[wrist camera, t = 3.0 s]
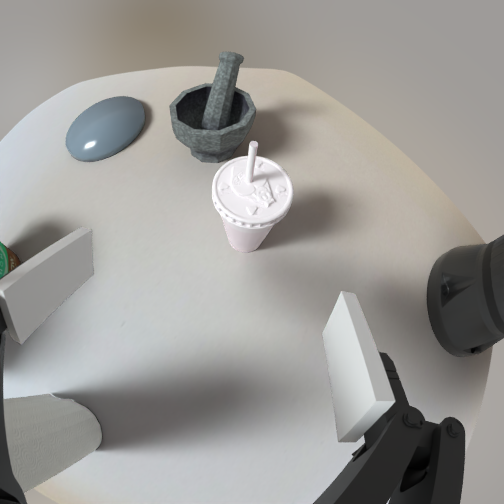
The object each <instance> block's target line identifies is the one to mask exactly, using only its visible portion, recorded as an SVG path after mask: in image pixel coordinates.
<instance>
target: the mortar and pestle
mask: <svg viewBox="0 0 504 504" xmlns="http://www.w3.org/2000/svg"><path fill="white" fill-rule="evenodd" d="M219 59H220V63H219V66H218V69H217V72H216V75H215V79H214V82H213V84H206V83H205V84H202V85H199V86H196V87H193V88H191V89H188V90H185V91H183V92H182V93H181V94H180V95H179V96H178V97H177V98H176V99H175V100H174V101H173V102H172V104H171V105H170V114H171V122H172V127H173V131H174V134H175V136H176V138H177V139H178V140H179V141H180V142H182V143H183V144H184V145H186V146H187V147H189V148H190V149H191V154H192V155H193V156H194V157H196V158H197V159H199V160H200V161H201V162H210V163H219V162H221V161H223V160H225V159H228V158H230V157H231V156H232V155H233V153H234V151H235V149H236V148H237V146H238V145H239V144H241V143H242V142H243V140H244V138H245V137H246V135H247V133H248V132H249V130H250V128H251V126H252V124H253V121H254V118H255V113H256V108H255V106H254V104H253V101H252V99H251V97H250V95H249V94H248V93H246V92H244V91H242V90H240V89H238V88H236V87H235V86H236V81H237V76H238V71H239V66H240V64H241V63H242V62H243V59H244V57H243V56H242V55H240V54H237V53H233V52H221V53H220V55H219Z"/></svg>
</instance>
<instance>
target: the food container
mask: <svg viewBox="0 0 504 504" xmlns="http://www.w3.org/2000/svg"><path fill="white" fill-rule="evenodd" d="M19 264H21V263H20V260H19V258H18V257H17V255H16V254H14V253H13V252H12V251H11V250H10V249H8V248H7V247H6V246H5V245H4V244H2V243H1V242H0V278H1V277H2V276H4V275H5V274H7V273H8V272H9V271H11V270H12V269H13V270H14V268H15V267H16V266H18V265H19Z"/></svg>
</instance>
